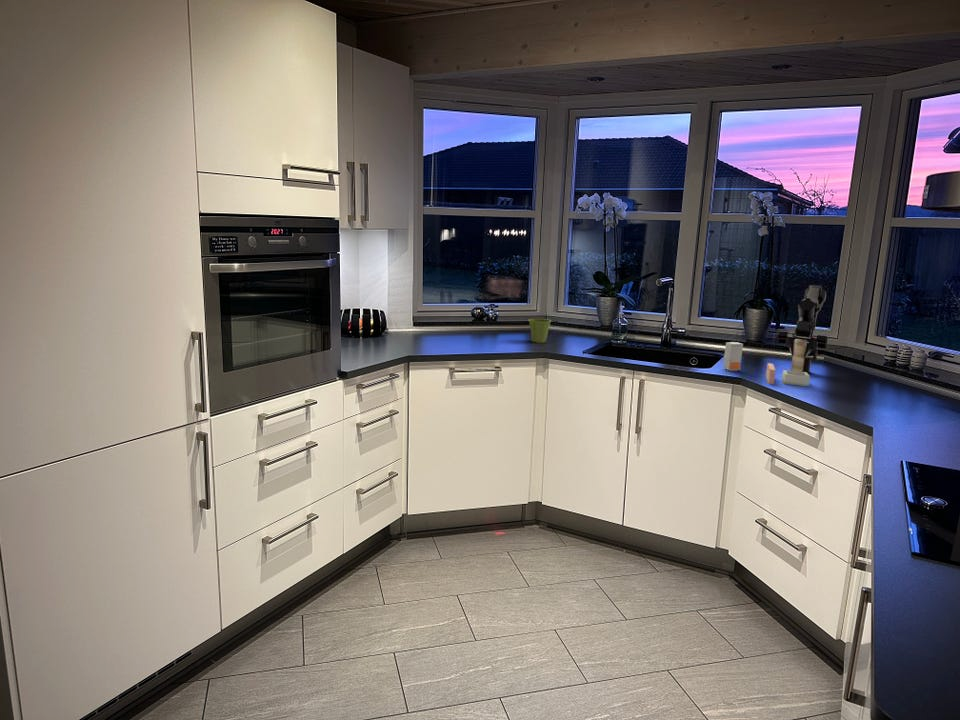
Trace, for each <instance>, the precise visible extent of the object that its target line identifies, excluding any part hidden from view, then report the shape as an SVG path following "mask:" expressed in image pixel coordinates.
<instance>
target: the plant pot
mask: <svg viewBox="0 0 960 720" xmlns="http://www.w3.org/2000/svg"><path fill="white" fill-rule="evenodd" d="M527 321H528V323H529V328H530V329H529V330H530V337H531V342H532V343H538V344H540V343H542V344H543V343H546V342H547V337H548V333H549V328H550V325H551V322H552V320H551V319H545V318H529V319H528V320H527Z"/></svg>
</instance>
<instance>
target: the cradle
mask: <svg viewBox="0 0 960 720" xmlns="http://www.w3.org/2000/svg"><path fill="white" fill-rule="evenodd" d="M781 377H782V378H781V380H782V383H783V384H784V385H790V386H798V387H800V386H801V387H809V386H810V380H811V379H810V378H811V377H810V374H809V373H807V372H802V373H797V372H792V371H791V370H788V369H787V370H786V369H785V370H784V369H782V375H781Z"/></svg>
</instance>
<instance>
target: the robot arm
mask: <svg viewBox="0 0 960 720" xmlns="http://www.w3.org/2000/svg"><path fill="white" fill-rule="evenodd" d="M803 296H804V297H803V299H801V301H800V302H799V303H798V305H797V311H798V320H797V321H796V326H795V329H794V334H792V333H789V331H787V330H778V331H777V333H776V343H777V344H779V345H785V346H786V347H788V348H789V351H790V355H791V357H793V350H794V343H795V339H803V340H807V344H806V351H805V355H804V357H805V358H804V365H803V372H807V373H808V374H809V375H810V374H811V375H812V371H811V370H810V369H811V365H812V360H813V361H815V360H816V361H817V358H818V349H823V350H826V349H827V347H828V341H829V337H828V336H827V335H823V334H822V335H821V334H817V335H816V337H814V332H815V330H816V323H817V317H818V313H819V312H820V311H821V308H823V305H824V302H826V299H827V291H826V290H825V289H823V287H822V286H820V285H812V284H811V285H809V286H808V288H806V289H805V290H804V295H803Z"/></svg>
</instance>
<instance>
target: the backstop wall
mask: <svg viewBox="0 0 960 720" xmlns="http://www.w3.org/2000/svg"><path fill="white" fill-rule="evenodd" d="M766 366H767V367H766V373H765V379H766V382H767V384H768V385H774V384H775V379H776V373H777V372H776V371H777V370H776V368H775V365H774V363H769V362H767V364H766Z"/></svg>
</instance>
